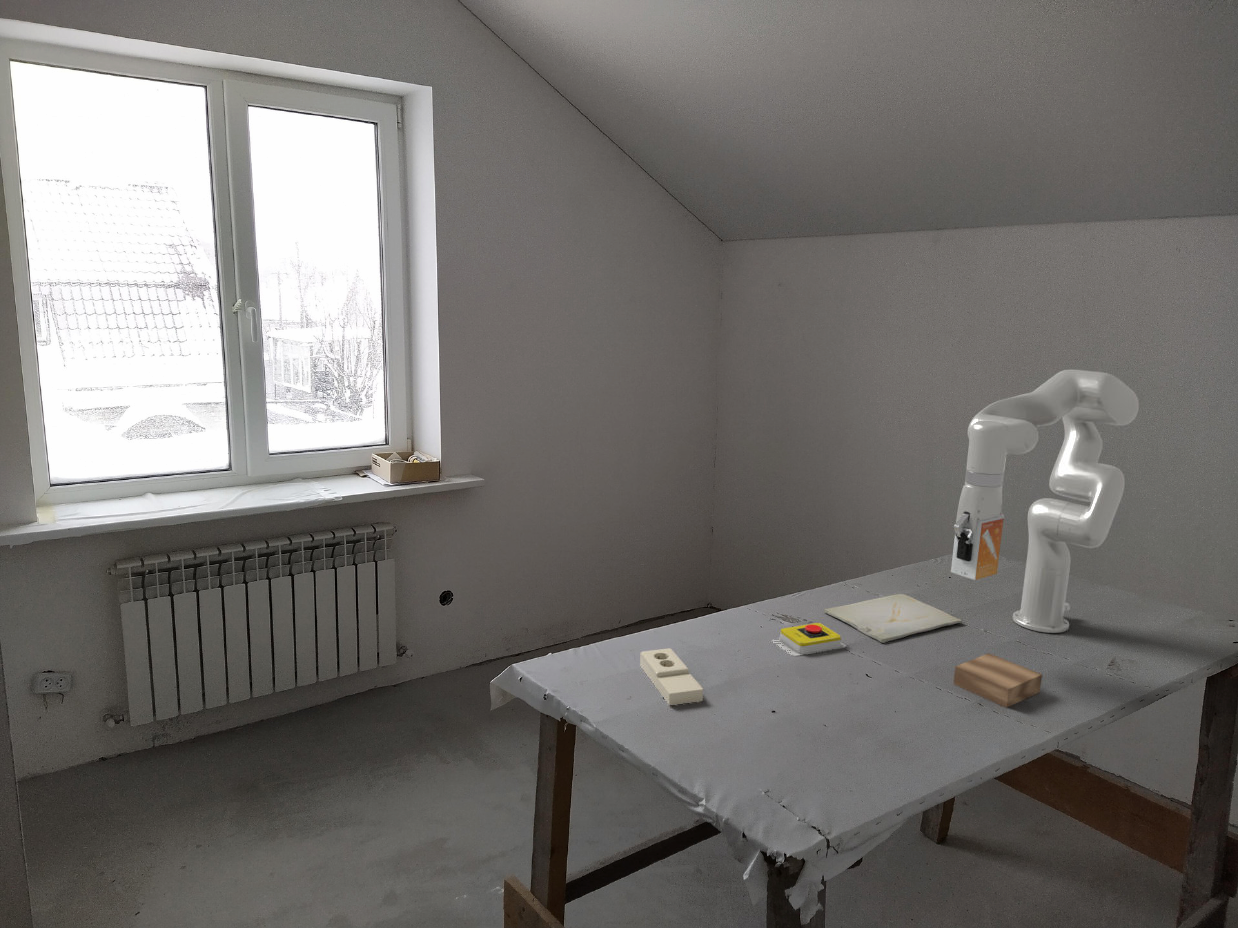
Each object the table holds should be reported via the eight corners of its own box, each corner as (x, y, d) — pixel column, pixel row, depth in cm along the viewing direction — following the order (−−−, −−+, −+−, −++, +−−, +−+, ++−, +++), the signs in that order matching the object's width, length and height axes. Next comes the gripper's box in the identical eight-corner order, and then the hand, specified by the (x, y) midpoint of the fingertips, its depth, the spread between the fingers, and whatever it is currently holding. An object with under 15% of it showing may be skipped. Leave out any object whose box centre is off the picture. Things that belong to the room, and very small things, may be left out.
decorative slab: (883, 647, 200) (884, 639, 199) (820, 615, 218) (821, 608, 217) (963, 625, 213) (964, 618, 212) (898, 597, 231) (898, 590, 230)
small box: (975, 581, 185) (981, 523, 182) (950, 572, 190) (955, 515, 187) (998, 574, 189) (1004, 517, 187) (972, 566, 195) (978, 510, 192)
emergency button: (848, 631, 197) (793, 640, 192) (847, 648, 198) (792, 658, 193) (824, 616, 206) (770, 624, 200) (823, 633, 207) (769, 642, 201)
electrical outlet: (669, 689, 169) (639, 650, 186) (668, 708, 170) (639, 668, 186) (703, 684, 171) (671, 647, 188) (702, 703, 172) (670, 664, 189)
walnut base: (986, 669, 188) (988, 652, 187) (1039, 692, 178) (1042, 674, 177) (953, 683, 181) (955, 666, 180) (1006, 707, 171) (1008, 689, 170)
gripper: (992, 470, 193) (983, 545, 197) (944, 480, 183) (936, 558, 187) (1023, 477, 187) (1014, 553, 191) (975, 487, 177) (967, 568, 181)
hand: (975, 555), depth 189 cm, fingers closed on small box, 8 cm apart
